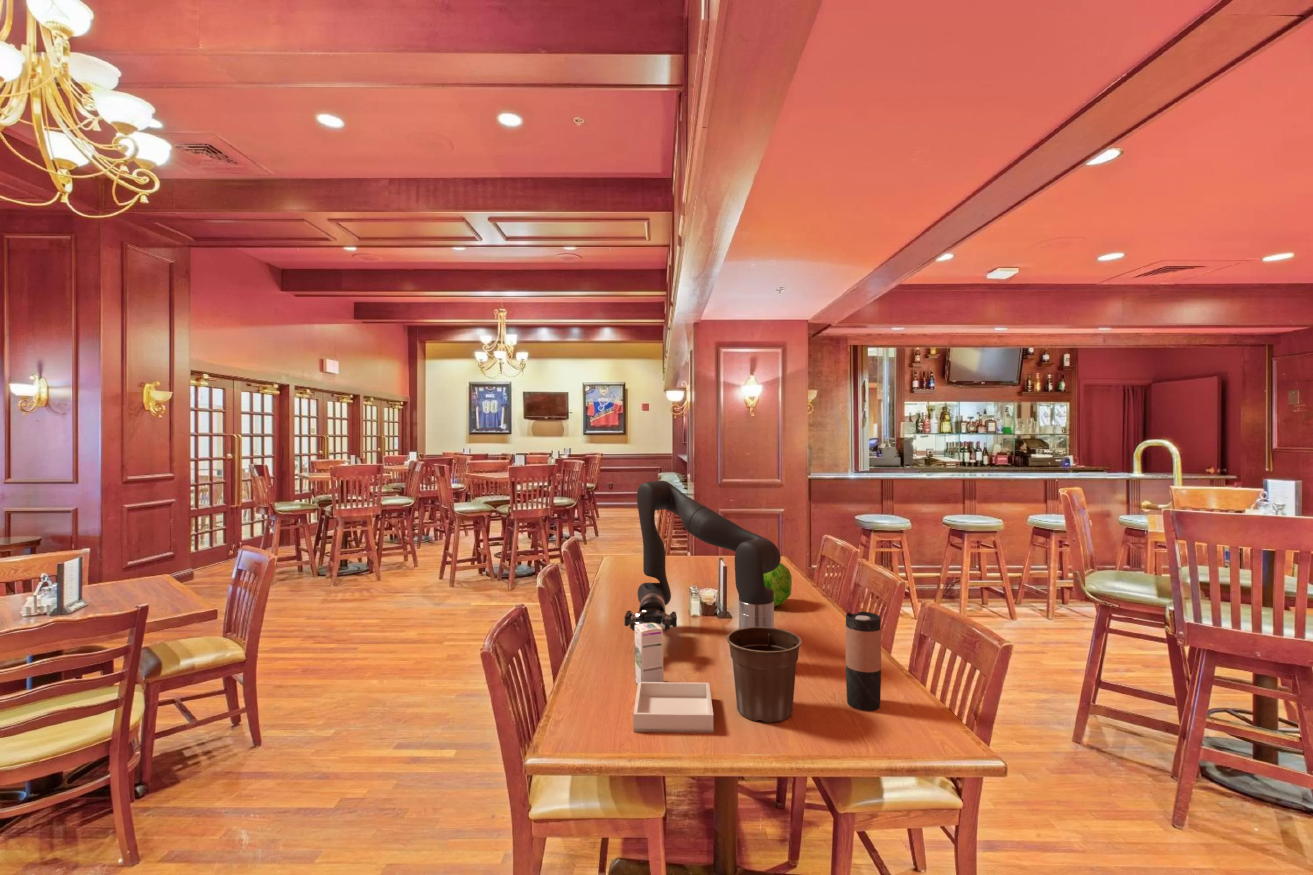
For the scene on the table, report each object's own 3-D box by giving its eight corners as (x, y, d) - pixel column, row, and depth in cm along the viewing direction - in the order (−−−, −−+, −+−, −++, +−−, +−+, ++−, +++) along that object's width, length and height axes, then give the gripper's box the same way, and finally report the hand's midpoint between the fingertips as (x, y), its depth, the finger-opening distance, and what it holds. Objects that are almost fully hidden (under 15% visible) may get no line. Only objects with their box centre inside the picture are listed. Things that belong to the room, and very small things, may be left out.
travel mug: (877, 714, 130) (877, 622, 130) (841, 706, 134) (841, 617, 134) (884, 701, 136) (884, 614, 136) (850, 694, 140) (850, 609, 140)
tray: (708, 698, 138) (708, 682, 138) (713, 732, 122) (713, 714, 122) (638, 697, 139) (638, 681, 139) (633, 731, 122) (633, 714, 122)
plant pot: (765, 736, 120) (764, 656, 121) (712, 707, 133) (711, 635, 134) (817, 714, 130) (817, 640, 130) (763, 689, 143) (762, 622, 143)
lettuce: (778, 600, 228) (753, 566, 231) (810, 583, 213) (783, 546, 216) (751, 624, 217) (725, 588, 220) (783, 607, 202) (755, 568, 205)
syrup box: (664, 688, 144) (664, 628, 144) (641, 691, 142) (641, 630, 142) (656, 679, 149) (656, 621, 149) (633, 682, 147) (633, 623, 147)
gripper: (627, 595, 173) (623, 612, 157) (676, 596, 173) (677, 613, 157) (627, 621, 173) (622, 641, 157) (676, 622, 173) (676, 642, 157)
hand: (649, 627), depth 157 cm, fingers open, 8 cm apart
